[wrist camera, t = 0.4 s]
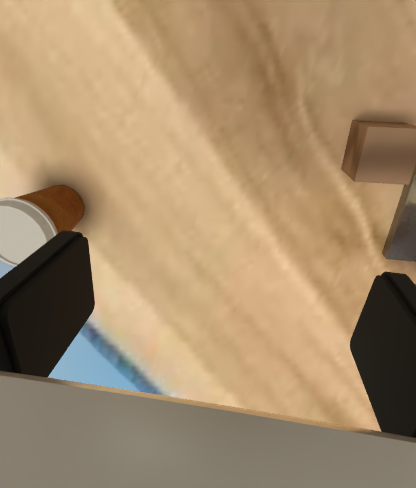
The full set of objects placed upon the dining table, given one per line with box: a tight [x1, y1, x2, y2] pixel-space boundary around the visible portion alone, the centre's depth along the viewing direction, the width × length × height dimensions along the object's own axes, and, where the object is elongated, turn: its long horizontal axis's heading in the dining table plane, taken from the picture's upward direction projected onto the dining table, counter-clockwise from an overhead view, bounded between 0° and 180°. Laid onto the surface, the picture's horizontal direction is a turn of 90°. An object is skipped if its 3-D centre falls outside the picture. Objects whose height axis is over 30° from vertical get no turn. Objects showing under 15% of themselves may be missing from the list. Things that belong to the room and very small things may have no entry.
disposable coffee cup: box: [0, 185, 84, 267], centre depth 43 cm, size 10×10×12 cm
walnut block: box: [341, 121, 416, 185], centre depth 37 cm, size 6×6×6 cm
